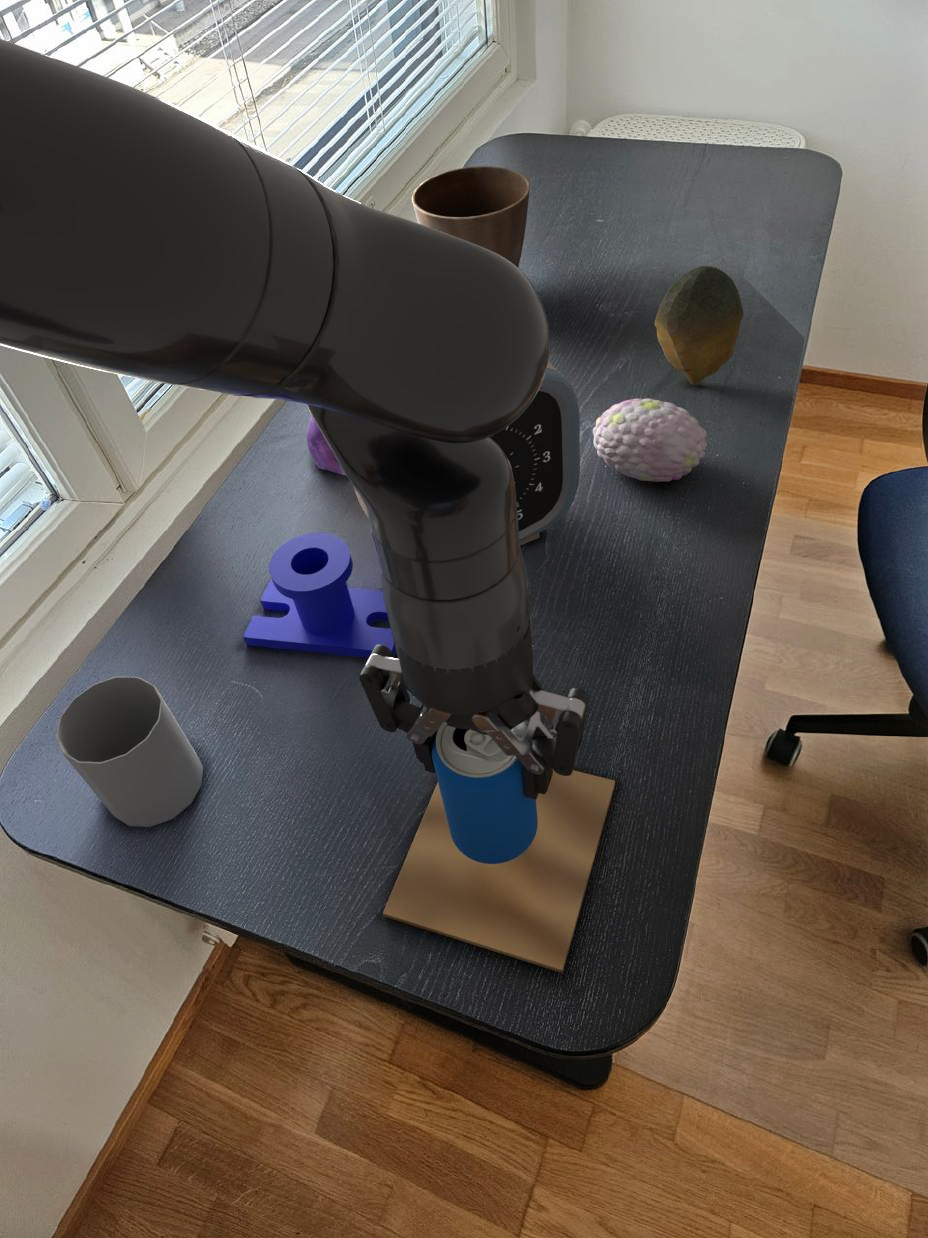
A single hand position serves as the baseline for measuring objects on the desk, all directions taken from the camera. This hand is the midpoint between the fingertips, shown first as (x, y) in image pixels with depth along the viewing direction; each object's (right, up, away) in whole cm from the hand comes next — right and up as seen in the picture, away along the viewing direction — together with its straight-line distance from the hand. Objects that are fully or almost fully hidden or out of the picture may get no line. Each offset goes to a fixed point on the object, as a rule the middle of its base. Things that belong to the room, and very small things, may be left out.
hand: (485, 773), depth 60 cm
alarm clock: (0, +19, +34) cm, 39 cm away
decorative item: (+19, +27, +39) cm, 51 cm away
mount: (-15, +10, +28) cm, 33 cm away
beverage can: (+1, -5, +6) cm, 8 cm away
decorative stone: (+26, +39, +47) cm, 66 cm away
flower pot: (+1, +54, +64) cm, 84 cm away
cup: (-28, -4, +18) cm, 34 cm away
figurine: (-16, +30, +46) cm, 57 cm away
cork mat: (+2, -8, +10) cm, 13 cm away
